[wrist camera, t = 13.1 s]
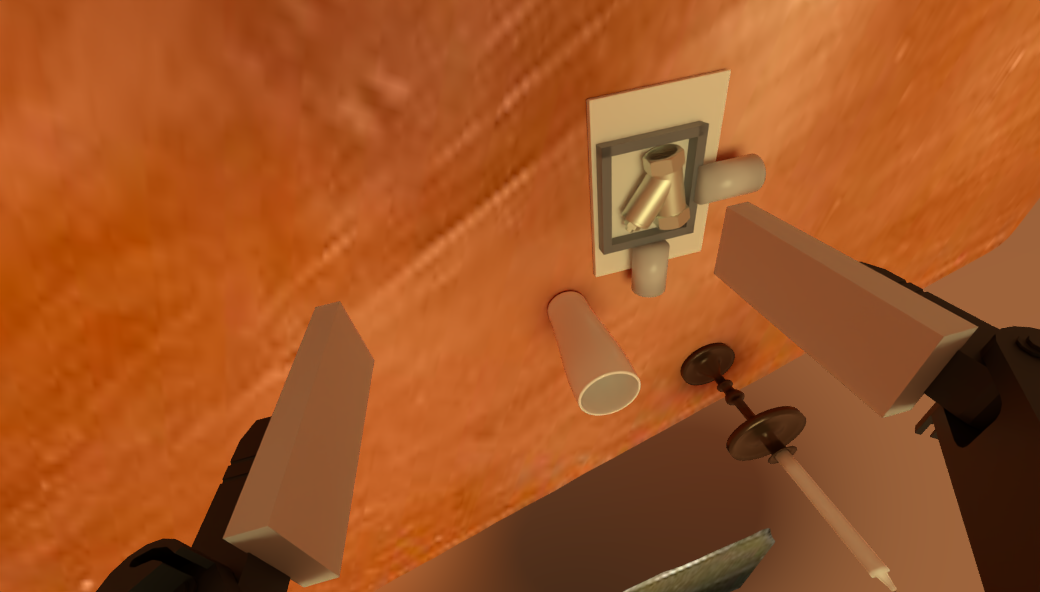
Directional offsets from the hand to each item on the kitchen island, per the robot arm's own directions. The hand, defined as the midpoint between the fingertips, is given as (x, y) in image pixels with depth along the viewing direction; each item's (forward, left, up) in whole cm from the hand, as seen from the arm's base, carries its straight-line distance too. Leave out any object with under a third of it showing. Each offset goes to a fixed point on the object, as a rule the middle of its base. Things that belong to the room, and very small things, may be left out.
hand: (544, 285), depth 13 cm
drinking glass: (+24, +7, -27) cm, 37 cm away
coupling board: (+11, +19, -27) cm, 35 cm away
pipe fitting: (+10, +17, -26) cm, 33 cm away
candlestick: (+44, +30, -27) cm, 60 cm away
